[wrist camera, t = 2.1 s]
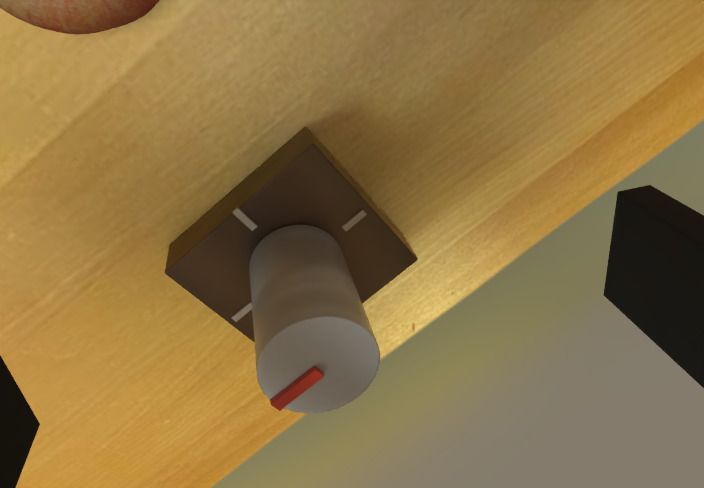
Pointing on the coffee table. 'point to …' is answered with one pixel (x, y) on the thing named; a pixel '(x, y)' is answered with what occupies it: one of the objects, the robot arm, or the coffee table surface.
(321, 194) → the control panel
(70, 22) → the apple
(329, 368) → the dial
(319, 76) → the coffee table surface
